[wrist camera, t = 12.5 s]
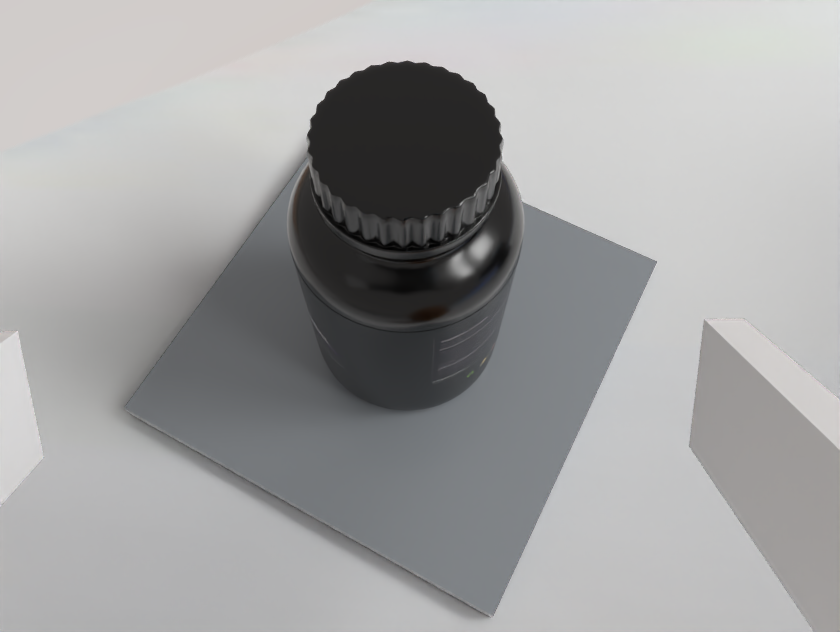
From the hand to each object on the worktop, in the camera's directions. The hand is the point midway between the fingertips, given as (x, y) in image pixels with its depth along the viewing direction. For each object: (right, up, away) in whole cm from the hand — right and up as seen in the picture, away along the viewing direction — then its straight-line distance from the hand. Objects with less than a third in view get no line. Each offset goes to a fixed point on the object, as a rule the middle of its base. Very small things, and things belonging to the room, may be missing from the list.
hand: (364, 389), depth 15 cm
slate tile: (0, 0, +15) cm, 15 cm away
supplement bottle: (+1, +1, +15) cm, 15 cm away
